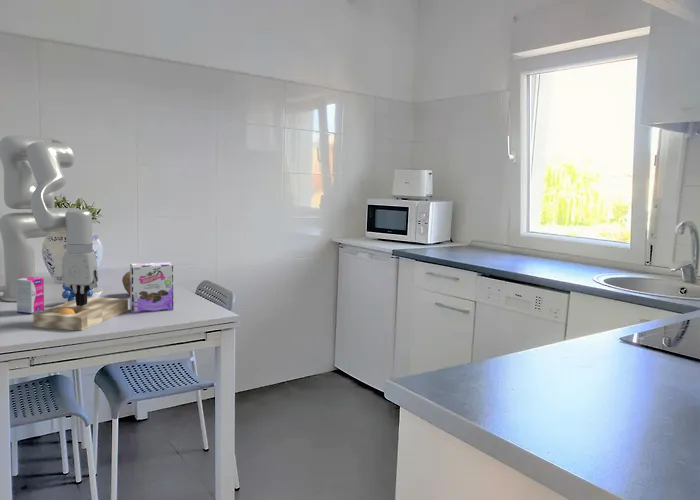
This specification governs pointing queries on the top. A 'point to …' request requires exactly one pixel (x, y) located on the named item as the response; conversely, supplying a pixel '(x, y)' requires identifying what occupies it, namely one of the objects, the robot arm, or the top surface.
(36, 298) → the supplement box
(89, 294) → the grapes
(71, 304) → the wooden tray with pocket
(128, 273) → the natural sponge
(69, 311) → the ball
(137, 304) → the candy box
